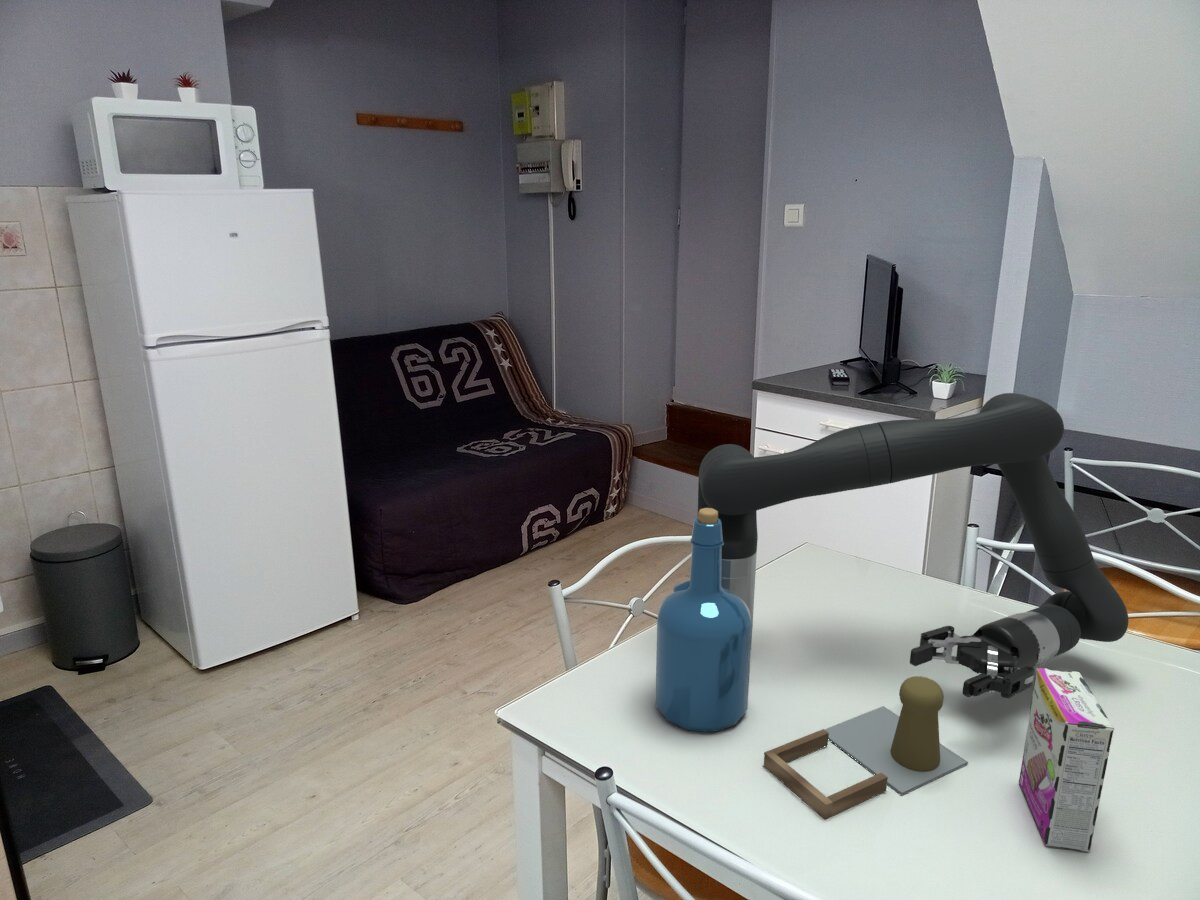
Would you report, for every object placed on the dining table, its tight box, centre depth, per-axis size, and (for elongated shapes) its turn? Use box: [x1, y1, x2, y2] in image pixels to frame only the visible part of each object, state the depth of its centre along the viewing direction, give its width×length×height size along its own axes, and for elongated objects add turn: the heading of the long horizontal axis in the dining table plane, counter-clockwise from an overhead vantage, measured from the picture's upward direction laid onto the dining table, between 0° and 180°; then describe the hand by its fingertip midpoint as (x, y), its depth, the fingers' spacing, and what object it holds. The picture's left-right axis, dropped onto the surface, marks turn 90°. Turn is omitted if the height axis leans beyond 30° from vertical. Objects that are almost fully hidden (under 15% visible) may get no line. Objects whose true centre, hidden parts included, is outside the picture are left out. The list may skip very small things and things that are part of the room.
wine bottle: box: [655, 508, 753, 733], centre depth 113 cm, size 14×13×30 cm
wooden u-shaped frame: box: [763, 728, 888, 820], centre depth 103 cm, size 11×10×2 cm
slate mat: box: [823, 705, 969, 796], centre depth 109 cm, size 14×12×1 cm
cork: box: [890, 675, 945, 772], centre depth 104 cm, size 6×6×11 cm
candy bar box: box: [1018, 667, 1115, 853], centre depth 94 cm, size 11×5×16 cm, turn 168°
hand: (938, 673), depth 109 cm, fingers open, 8 cm apart
